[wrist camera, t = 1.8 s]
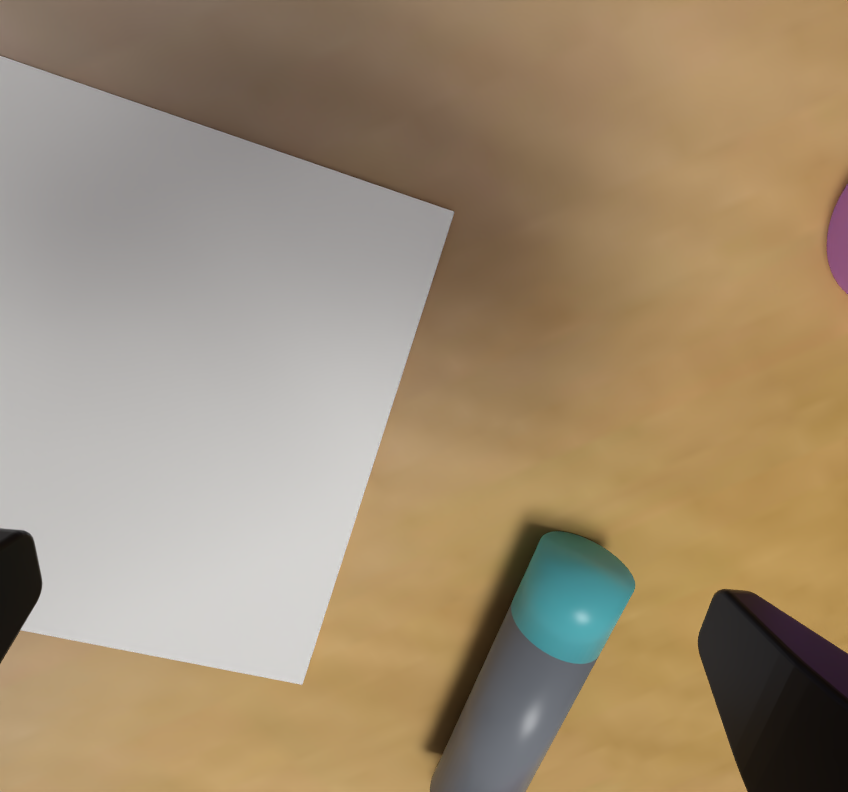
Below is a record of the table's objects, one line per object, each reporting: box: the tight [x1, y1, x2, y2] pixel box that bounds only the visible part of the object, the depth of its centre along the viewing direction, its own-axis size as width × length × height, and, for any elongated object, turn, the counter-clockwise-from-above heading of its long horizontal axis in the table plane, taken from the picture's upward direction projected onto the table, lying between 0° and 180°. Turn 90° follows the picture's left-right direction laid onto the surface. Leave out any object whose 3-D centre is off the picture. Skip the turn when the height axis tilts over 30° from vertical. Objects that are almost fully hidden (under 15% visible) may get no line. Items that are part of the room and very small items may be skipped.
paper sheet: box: [0, 56, 454, 685], centre depth 19 cm, size 20×14×1 cm
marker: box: [430, 531, 635, 792], centre depth 22 cm, size 15×4×4 cm, turn 162°
